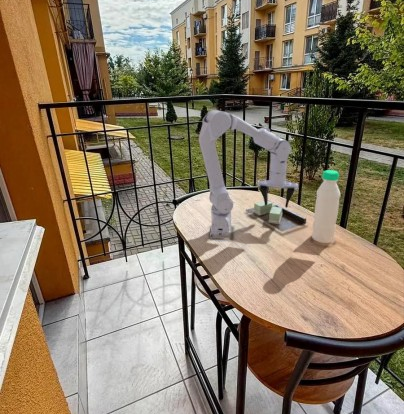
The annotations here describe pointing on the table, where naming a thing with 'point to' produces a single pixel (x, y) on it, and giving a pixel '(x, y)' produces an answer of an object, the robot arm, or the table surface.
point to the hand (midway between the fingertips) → (276, 205)
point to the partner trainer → (263, 207)
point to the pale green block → (275, 215)
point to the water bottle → (326, 208)
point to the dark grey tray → (282, 219)
